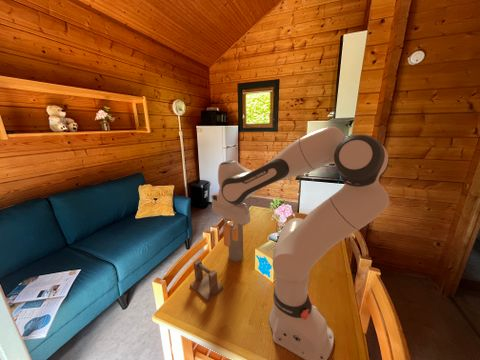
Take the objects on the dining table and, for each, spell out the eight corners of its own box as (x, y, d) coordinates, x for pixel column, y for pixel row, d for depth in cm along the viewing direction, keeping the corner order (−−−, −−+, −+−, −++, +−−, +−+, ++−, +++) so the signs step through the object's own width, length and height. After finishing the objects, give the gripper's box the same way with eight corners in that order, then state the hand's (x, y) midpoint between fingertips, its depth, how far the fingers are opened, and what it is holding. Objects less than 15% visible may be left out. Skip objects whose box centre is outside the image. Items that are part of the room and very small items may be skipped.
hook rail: (223, 288, 90) (222, 268, 87) (207, 301, 84) (205, 280, 80) (205, 274, 98) (204, 255, 95) (190, 286, 92) (187, 266, 88)
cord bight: (238, 239, 94) (237, 220, 91) (227, 247, 89) (226, 227, 86) (234, 237, 95) (234, 219, 92) (223, 244, 90) (223, 225, 87)
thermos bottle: (244, 252, 113) (243, 207, 105) (241, 262, 106) (240, 215, 98) (230, 251, 115) (229, 206, 106) (227, 260, 108) (225, 213, 99)
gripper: (253, 202, 81) (253, 231, 85) (219, 190, 94) (220, 217, 98) (243, 207, 76) (243, 238, 81) (208, 194, 89) (210, 222, 94)
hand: (230, 226), depth 89 cm, fingers closed on cord bight, 2 cm apart
